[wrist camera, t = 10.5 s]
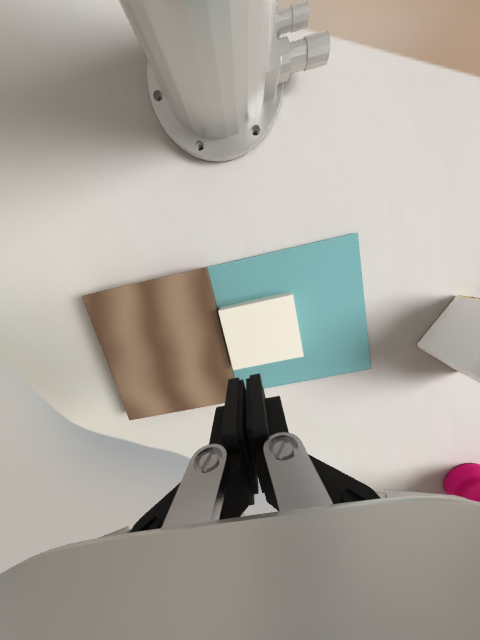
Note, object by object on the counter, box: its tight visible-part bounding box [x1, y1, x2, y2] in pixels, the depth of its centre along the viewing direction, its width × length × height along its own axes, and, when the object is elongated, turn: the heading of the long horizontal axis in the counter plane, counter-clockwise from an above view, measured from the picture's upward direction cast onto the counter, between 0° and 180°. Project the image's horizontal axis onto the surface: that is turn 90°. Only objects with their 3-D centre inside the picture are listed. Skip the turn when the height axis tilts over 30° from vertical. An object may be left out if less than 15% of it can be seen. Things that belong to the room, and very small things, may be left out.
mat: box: [208, 233, 371, 389], centre depth 27 cm, size 17×16×1 cm
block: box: [218, 292, 304, 370], centre depth 26 cm, size 8×7×2 cm
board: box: [82, 267, 235, 420], centre depth 27 cm, size 14×16×2 cm
